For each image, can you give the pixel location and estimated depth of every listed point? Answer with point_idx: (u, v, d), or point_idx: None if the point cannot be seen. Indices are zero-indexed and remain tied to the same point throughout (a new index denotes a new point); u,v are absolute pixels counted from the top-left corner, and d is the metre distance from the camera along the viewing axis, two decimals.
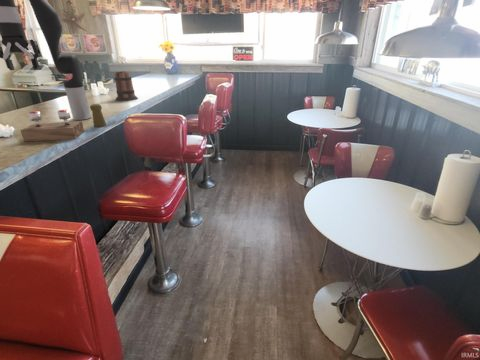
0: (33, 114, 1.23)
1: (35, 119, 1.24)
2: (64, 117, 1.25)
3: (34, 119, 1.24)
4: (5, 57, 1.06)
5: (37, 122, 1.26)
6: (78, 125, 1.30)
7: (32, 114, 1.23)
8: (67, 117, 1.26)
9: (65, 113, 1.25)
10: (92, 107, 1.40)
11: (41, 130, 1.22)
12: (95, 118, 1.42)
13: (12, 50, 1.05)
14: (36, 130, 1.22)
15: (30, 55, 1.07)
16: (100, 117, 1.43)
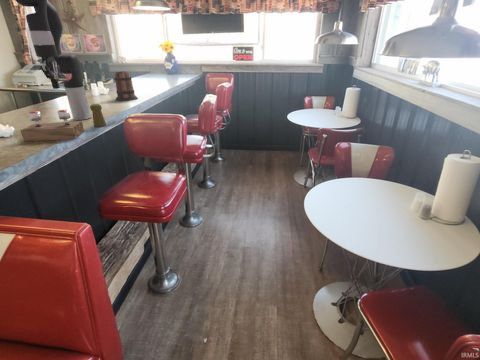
0: (33, 114, 1.23)
1: (35, 119, 1.24)
2: (64, 117, 1.25)
3: (34, 119, 1.24)
4: (55, 77, 1.19)
5: (37, 122, 1.26)
6: (78, 125, 1.30)
7: (32, 114, 1.23)
8: (67, 117, 1.26)
9: (65, 113, 1.25)
10: (92, 107, 1.40)
11: (41, 130, 1.22)
12: (95, 118, 1.42)
13: None
14: (36, 130, 1.22)
15: (57, 75, 1.20)
16: (100, 117, 1.43)
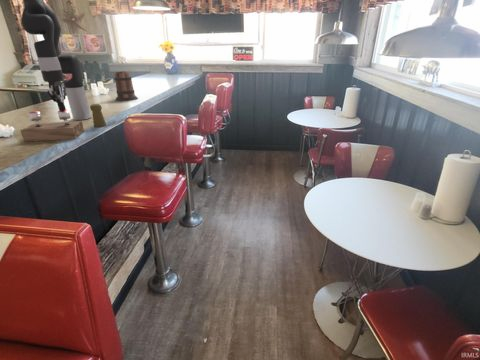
0: (33, 114, 1.23)
1: (35, 119, 1.24)
2: (64, 117, 1.25)
3: (34, 119, 1.24)
4: (62, 100, 1.23)
5: (37, 122, 1.26)
6: (78, 125, 1.30)
7: (32, 114, 1.23)
8: (67, 117, 1.26)
9: (65, 113, 1.25)
10: (92, 107, 1.40)
11: (41, 130, 1.22)
12: (95, 118, 1.42)
13: None
14: (36, 130, 1.22)
15: (63, 98, 1.25)
16: (100, 117, 1.43)
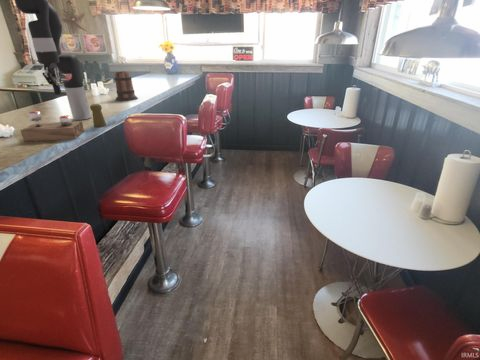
0: (33, 114, 1.23)
1: (35, 119, 1.24)
2: (66, 123, 1.26)
3: (34, 119, 1.24)
4: (57, 83, 1.20)
5: (37, 122, 1.26)
6: (78, 125, 1.30)
7: (32, 114, 1.23)
8: (69, 123, 1.27)
9: (67, 119, 1.26)
10: (92, 107, 1.40)
11: (41, 130, 1.22)
12: (95, 118, 1.42)
13: None
14: (36, 130, 1.22)
15: (58, 81, 1.22)
16: (100, 117, 1.43)
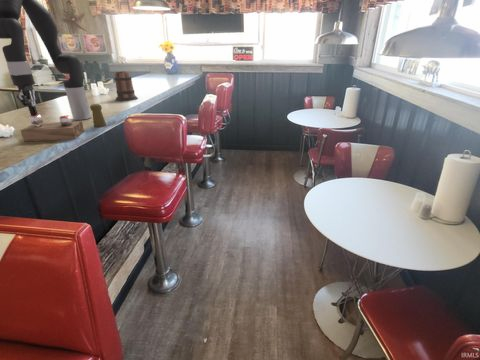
0: (34, 117, 1.23)
1: (36, 122, 1.24)
2: (66, 123, 1.26)
3: (35, 122, 1.24)
4: (33, 104, 1.22)
5: (38, 126, 1.26)
6: (78, 125, 1.30)
7: (33, 117, 1.23)
8: (69, 123, 1.27)
9: (67, 119, 1.26)
10: (92, 107, 1.40)
11: (41, 130, 1.22)
12: (95, 118, 1.42)
13: None
14: (36, 130, 1.22)
15: (34, 102, 1.23)
16: (100, 117, 1.43)
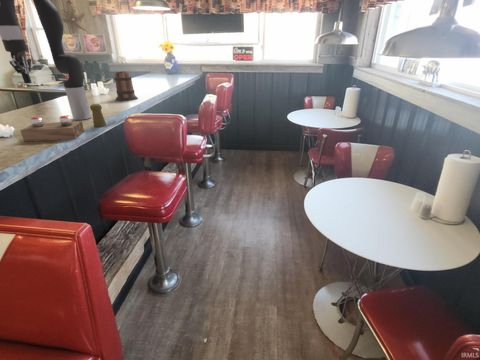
0: (35, 120, 1.24)
1: (37, 125, 1.25)
2: (66, 123, 1.26)
3: (36, 125, 1.25)
4: (26, 72, 1.20)
5: None
6: (78, 125, 1.30)
7: (34, 120, 1.24)
8: (69, 123, 1.27)
9: (67, 119, 1.26)
10: (92, 107, 1.40)
11: (41, 130, 1.22)
12: (95, 118, 1.42)
13: None
14: (36, 130, 1.22)
15: (28, 70, 1.21)
16: (100, 117, 1.43)
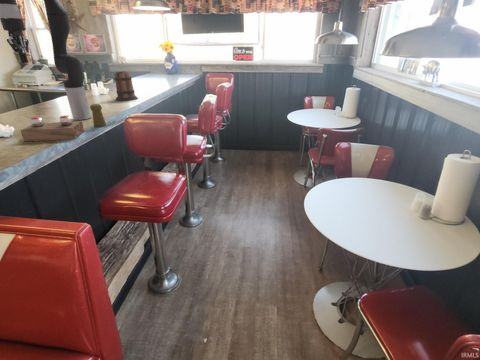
0: (35, 120, 1.24)
1: (37, 125, 1.25)
2: (66, 123, 1.26)
3: (36, 125, 1.25)
4: (24, 51, 1.22)
5: None
6: (78, 125, 1.30)
7: (34, 120, 1.24)
8: (69, 123, 1.27)
9: (67, 119, 1.26)
10: (92, 107, 1.40)
11: (41, 130, 1.22)
12: (95, 118, 1.42)
13: None
14: (36, 130, 1.22)
15: (25, 49, 1.23)
16: (100, 117, 1.43)
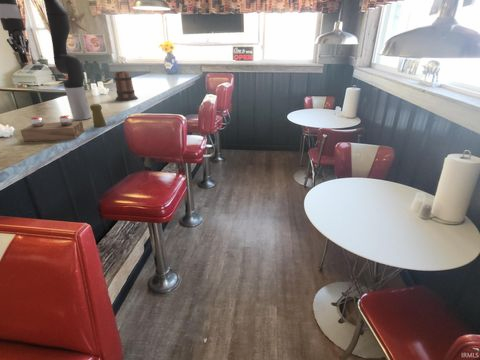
0: (35, 120, 1.24)
1: (37, 125, 1.25)
2: (66, 123, 1.26)
3: (36, 125, 1.25)
4: (24, 51, 1.22)
5: None
6: (78, 125, 1.30)
7: (34, 120, 1.24)
8: (69, 123, 1.27)
9: (67, 119, 1.26)
10: (92, 107, 1.40)
11: (41, 130, 1.22)
12: (95, 118, 1.42)
13: None
14: (36, 130, 1.22)
15: (25, 49, 1.23)
16: (100, 117, 1.43)
